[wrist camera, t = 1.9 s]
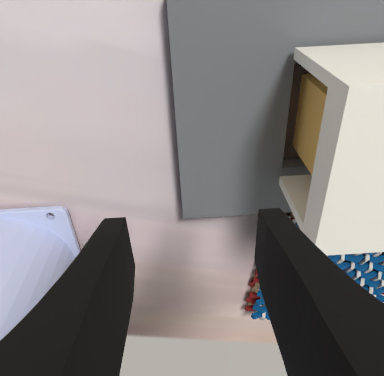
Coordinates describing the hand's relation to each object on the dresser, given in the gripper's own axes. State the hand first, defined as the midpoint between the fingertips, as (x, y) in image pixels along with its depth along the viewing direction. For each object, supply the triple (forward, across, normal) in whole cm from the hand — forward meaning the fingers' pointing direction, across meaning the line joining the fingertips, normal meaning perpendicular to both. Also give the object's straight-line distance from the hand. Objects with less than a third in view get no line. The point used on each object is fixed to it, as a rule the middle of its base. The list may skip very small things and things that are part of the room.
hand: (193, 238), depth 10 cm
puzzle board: (+9, -8, 0) cm, 13 cm away
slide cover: (+8, -8, 0) cm, 11 cm away
